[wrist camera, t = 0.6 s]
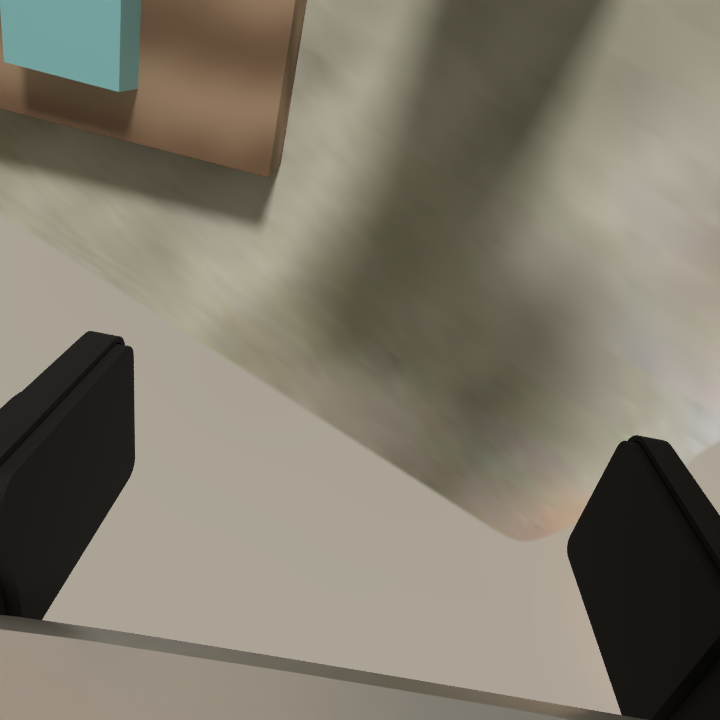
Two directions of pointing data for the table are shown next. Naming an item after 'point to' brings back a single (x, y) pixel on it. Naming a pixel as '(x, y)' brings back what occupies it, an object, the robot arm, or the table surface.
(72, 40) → the teal rectangular block
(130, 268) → the table surface
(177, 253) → the table surface
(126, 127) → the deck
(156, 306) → the table surface
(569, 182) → the table surface
